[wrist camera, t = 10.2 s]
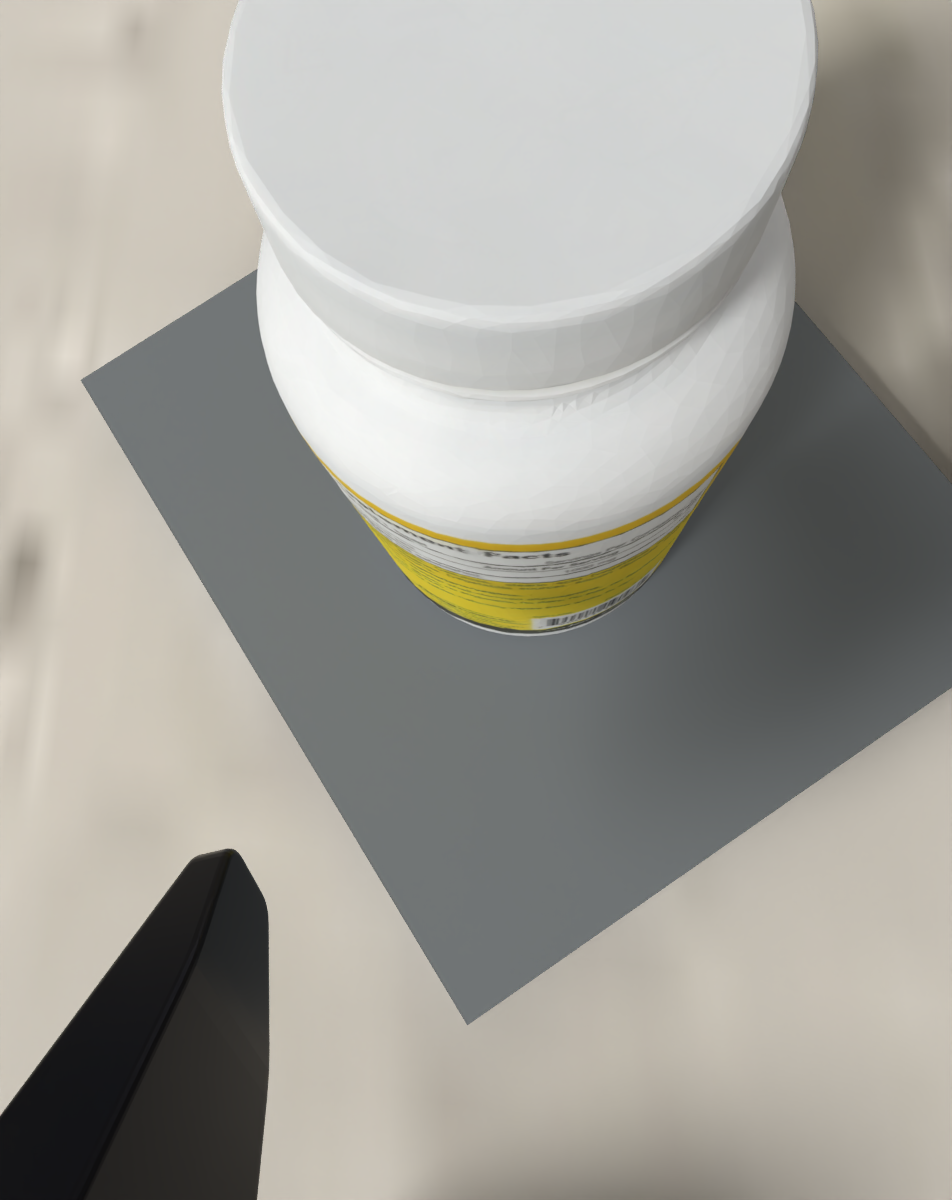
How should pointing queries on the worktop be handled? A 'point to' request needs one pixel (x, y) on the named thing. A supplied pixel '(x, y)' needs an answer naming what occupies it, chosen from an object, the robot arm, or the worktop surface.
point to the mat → (555, 647)
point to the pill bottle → (522, 270)
